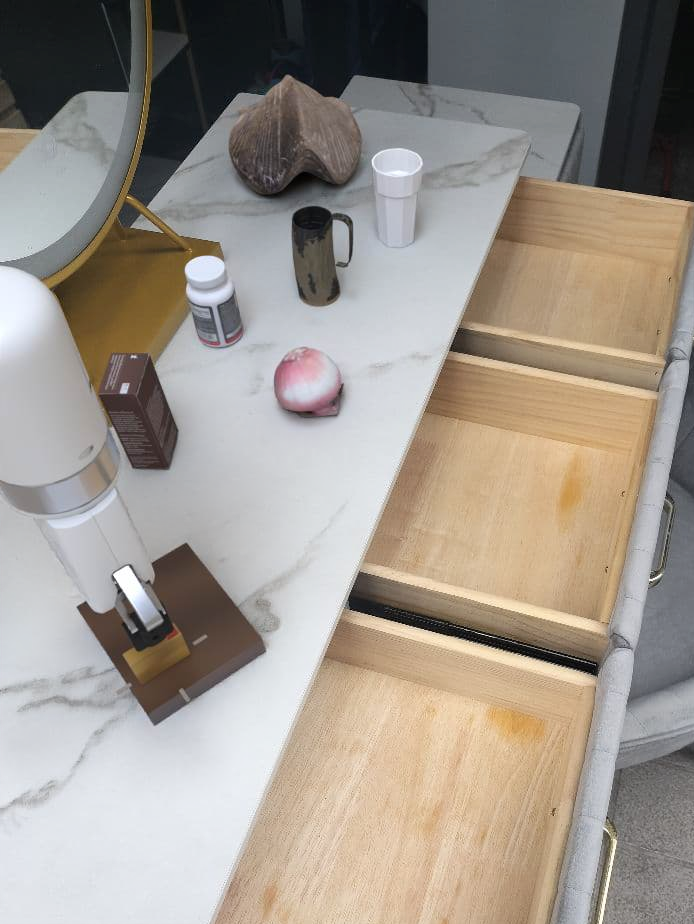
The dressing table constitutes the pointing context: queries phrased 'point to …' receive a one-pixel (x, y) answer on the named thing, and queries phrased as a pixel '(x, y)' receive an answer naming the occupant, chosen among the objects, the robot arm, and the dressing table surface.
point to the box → (138, 410)
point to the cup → (396, 194)
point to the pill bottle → (213, 302)
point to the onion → (308, 383)
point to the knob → (157, 656)
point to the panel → (202, 626)
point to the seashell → (294, 138)
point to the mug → (317, 254)
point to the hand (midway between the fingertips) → (124, 595)
